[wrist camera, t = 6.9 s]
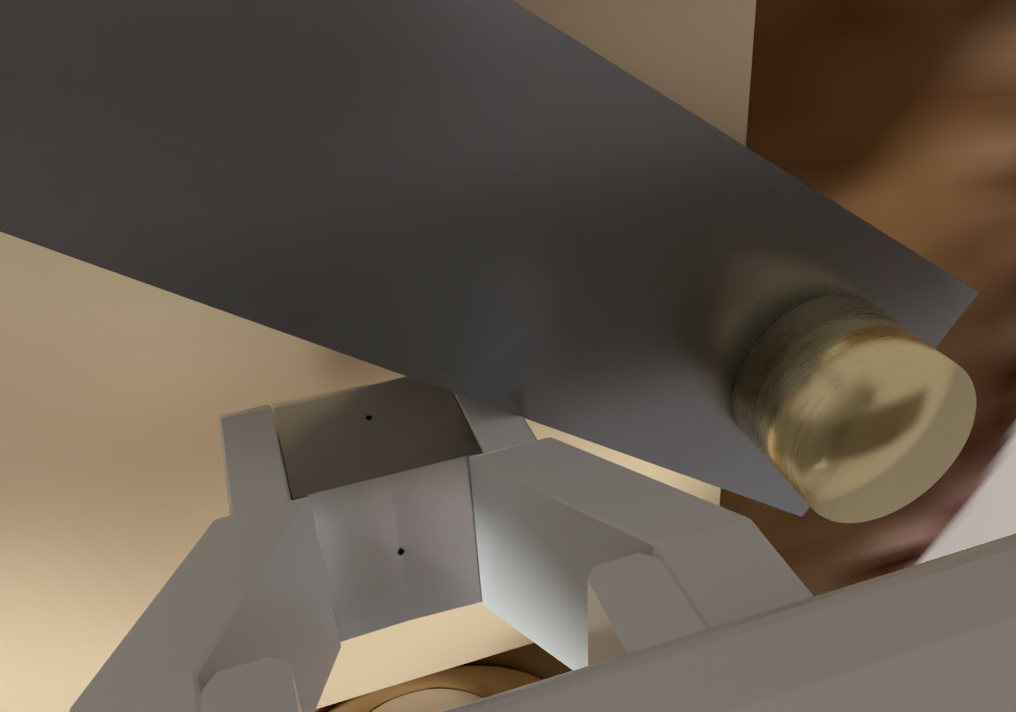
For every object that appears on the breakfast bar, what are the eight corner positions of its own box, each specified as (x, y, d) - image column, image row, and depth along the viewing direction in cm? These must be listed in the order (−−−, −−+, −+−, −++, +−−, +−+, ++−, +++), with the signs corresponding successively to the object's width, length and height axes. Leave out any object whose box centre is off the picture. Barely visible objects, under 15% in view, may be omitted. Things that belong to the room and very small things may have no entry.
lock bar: (-658, -167, 6) (-1378, -111, 3) (-583, -685, 5) (-1492, -1256, 2) (695, 396, 13) (868, 592, 10) (834, 201, 12) (1073, 350, 9)
